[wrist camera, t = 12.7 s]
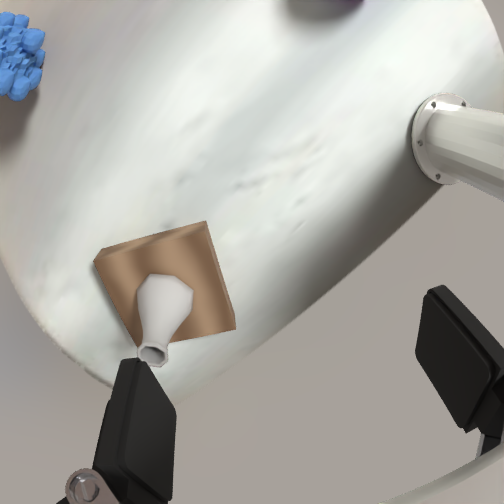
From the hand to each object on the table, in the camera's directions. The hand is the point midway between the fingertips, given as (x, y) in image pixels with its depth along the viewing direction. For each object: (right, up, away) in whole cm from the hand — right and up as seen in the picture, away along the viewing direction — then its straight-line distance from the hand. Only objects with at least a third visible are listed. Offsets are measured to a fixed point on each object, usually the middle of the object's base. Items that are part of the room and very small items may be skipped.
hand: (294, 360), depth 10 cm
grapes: (-25, +27, +16) cm, 40 cm away
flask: (-12, -2, +28) cm, 30 cm away
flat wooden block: (-12, 0, +31) cm, 34 cm away
